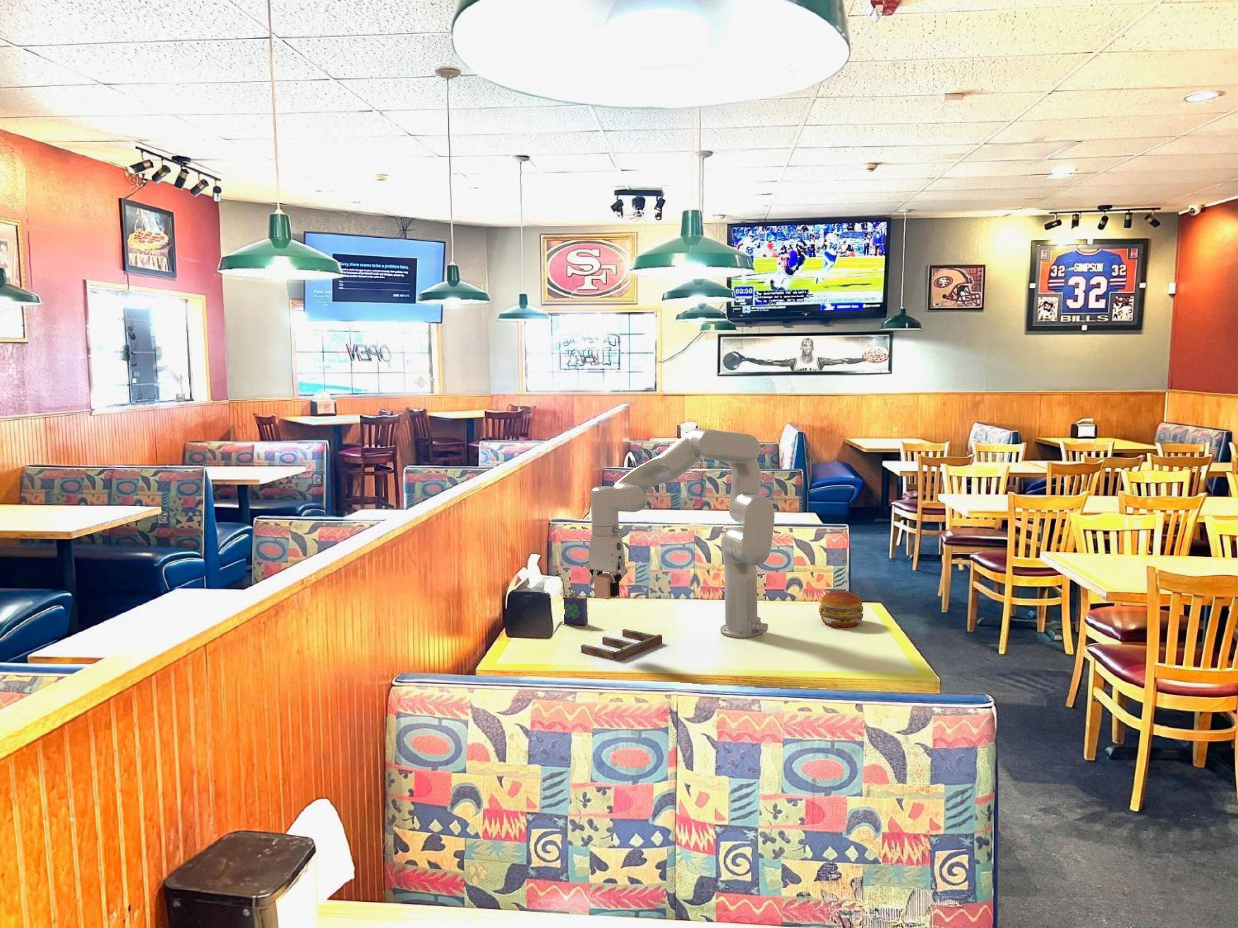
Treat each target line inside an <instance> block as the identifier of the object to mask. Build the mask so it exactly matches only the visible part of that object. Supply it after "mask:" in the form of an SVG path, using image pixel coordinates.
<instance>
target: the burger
mask: <svg viewBox="0 0 1238 928" xmlns="http://www.w3.org/2000/svg"><path fill="white" fill-rule="evenodd" d="M819 602H820V603H819V604H820V605H819V606H818V613H819V616H820V619H821V621H822V622H823V623H824V624H826V625H828V626H832V627H840V628H848V627H855V626H858V625H860V624H861V623H862V621H863V618H864V613H863V612H864V606H863V600H862V599H861V598H860V596H859V595H857V594H855V593H853V592H851V591H846V590H835V591H829V592H828V593H826V594H824V595H823V596H822V597H821V599H820V601H819Z"/></svg>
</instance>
